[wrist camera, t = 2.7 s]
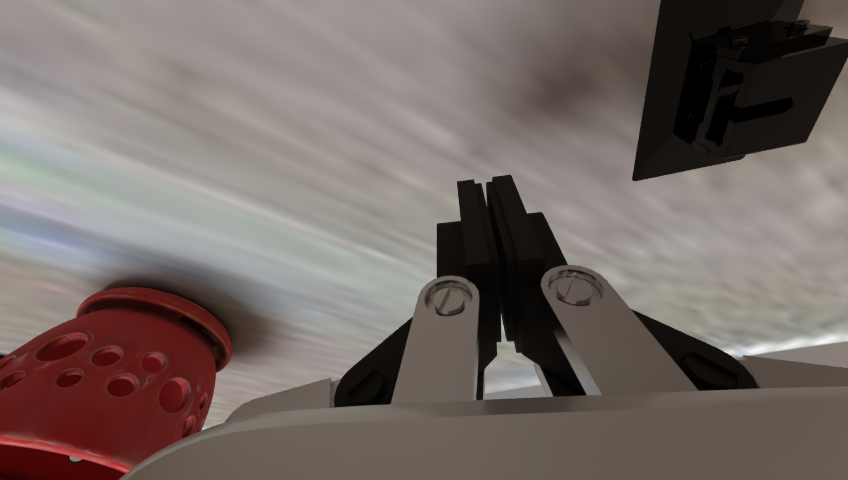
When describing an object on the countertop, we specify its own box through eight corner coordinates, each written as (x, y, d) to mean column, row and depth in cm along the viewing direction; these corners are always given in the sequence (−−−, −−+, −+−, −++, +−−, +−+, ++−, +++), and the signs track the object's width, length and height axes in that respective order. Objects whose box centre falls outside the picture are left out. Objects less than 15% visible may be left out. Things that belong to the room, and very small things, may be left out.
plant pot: (266, 363, 32) (197, 517, 23) (136, 356, 32) (15, 508, 23) (219, 271, 24) (84, 454, 15) (45, 262, 24) (-201, 439, 15)
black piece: (641, -69, 12) (727, -92, 9) (872, -145, 11) (1088, -210, 7) (612, 199, 20) (651, 248, 16) (748, 173, 18) (825, 220, 15)
